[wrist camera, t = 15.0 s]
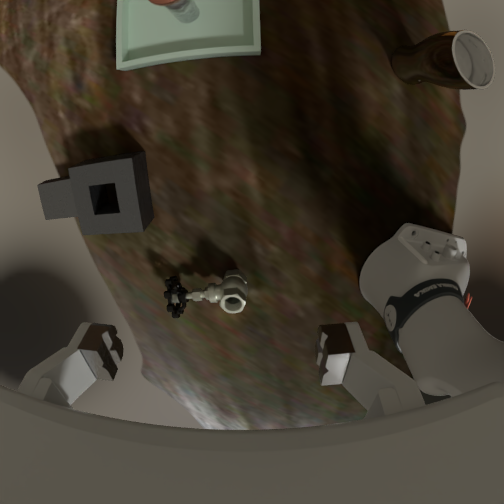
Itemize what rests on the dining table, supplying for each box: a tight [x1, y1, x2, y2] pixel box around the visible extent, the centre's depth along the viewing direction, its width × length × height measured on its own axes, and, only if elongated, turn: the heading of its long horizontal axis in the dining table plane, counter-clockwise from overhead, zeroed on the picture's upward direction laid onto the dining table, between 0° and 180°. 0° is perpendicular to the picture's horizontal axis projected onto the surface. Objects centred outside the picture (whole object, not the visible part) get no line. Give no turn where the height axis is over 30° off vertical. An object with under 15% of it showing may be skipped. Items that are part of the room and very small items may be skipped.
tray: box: [116, 0, 261, 71], centre depth 27 cm, size 18×14×3 cm
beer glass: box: [391, 30, 495, 90], centre depth 24 cm, size 7×7×15 cm
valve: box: [164, 269, 248, 318], centre depth 44 cm, size 7×7×12 cm
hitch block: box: [38, 151, 154, 235], centre depth 37 cm, size 19×10×5 cm, turn 92°
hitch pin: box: [149, 0, 200, 23], centre depth 22 cm, size 4×4×11 cm
